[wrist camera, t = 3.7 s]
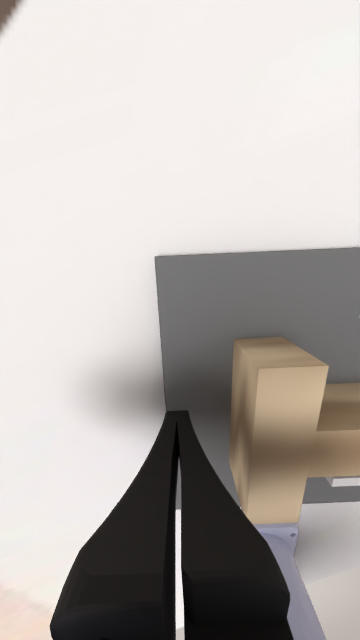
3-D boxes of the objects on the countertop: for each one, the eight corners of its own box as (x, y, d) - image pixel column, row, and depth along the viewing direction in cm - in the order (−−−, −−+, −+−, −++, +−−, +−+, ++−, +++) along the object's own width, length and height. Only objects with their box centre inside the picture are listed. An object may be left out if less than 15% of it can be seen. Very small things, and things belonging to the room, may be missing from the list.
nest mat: (449, 488, 15) (475, 509, 14) (173, 500, 15) (173, 522, 14) (571, 239, 10) (630, 234, 9) (155, 257, 10) (152, 255, 9)
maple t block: (359, 456, 14) (420, 517, 10) (229, 461, 14) (245, 524, 10) (395, 331, 11) (492, 358, 8) (233, 339, 11) (258, 368, 8)
